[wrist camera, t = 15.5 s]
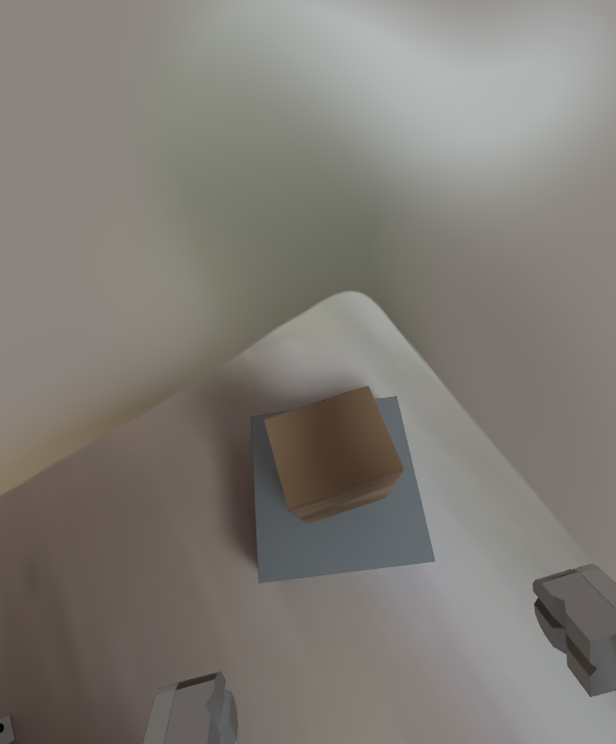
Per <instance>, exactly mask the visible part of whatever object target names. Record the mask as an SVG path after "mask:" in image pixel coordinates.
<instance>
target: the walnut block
mask: <svg viewBox="0 0 616 744" xmlns="http://www.w3.org/2000/svg"><path fill="white" fill-rule="evenodd" d="M264 422H265V425H266V429H267V433H268V437H269V440H270V444H271V448H272V451H273V455H274V459H275V463H276V466H277V470H278V474H279V477H280V481H281V485H282V489H283V492H284V496H285V500H286V503H287V507H288V509H289V510H290V511H291V512H293V513H294V514H295V515H296V516H298V517H299V518H300V519H301V520H303V521H304V522H305V523H306V524H310V523H313V522H316V521H319V520H322V519H325V518H328V517H331V516H334V515H337V514H339V513H342V512H345V511H348V510H351V509H354V508H357V507H360V506H363V505H366V504H369V503H371V502H374V501H377V500H380V499H383V498H386V497H387V496H388V494H389V493H390V491H391V490H392V488H393V486H394V485H395V483H396V481H397V480H398V478H399V477H400V475H401V473H402V472H403V470H404V468H403V466H402V463H401V461H400V459H399V456H398V454H397V452H396V449H395V447H394V445H393V442H392V440H391V438H390V435H389V433H388V431H387V428H386V426H385V424H384V421H383V419H382V417H381V414H380V412H379V410H378V407H377V405H376V403H375V400H374V398H373V396H372V393H371V391H370V389H369V386H366V387H362V388H359V389H356V390H353V391H350V392H347V393H344V394H341V395H338V396H335V397H332V398H329V399H326V400H323V401H320V402H317V403H314V404H311V405H308V406H305V407H302V408H299V409H295V410H292V411H289V412H286V413H283V414H280V415H277V416H274V417H271V418H268V419H265V420H264Z"/></svg>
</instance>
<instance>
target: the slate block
mask: <svg viewBox="0 0 616 744" xmlns="http://www.w3.org/2000/svg"><path fill="white" fill-rule="evenodd" d="M374 400H375V403H376V405H377V407H378V410H379V412H380V414H381V417H382V419H383V421H384V424H385V426H386V428H387V431H388V433H389V435H390V438H391V440H392V442H393V445H394V447H395V449H396V452H397V454H398V456H399V459H400V461H401V463H402V466H403V468H404V470H403V472H402V473H401V475H400V477H399V478H398V480H397V481H396V483H395V485H394V486H393V488H392V490H391V491H390V493H389V494H388V496H387V497H386V498H383V499H380V500H377V501H374V502H371V503H369V504H366V505H363V506H360V507H357V508H354V509H351V510H348V511H345V512H342V513H339V514H337V515H334V516H331V517H328V518H325V519H322V520H319V521H316V522H313V523H310V524H306V523H305V522H304V521H303V520H301V519H300V518H299V517H298V516H296V515H295V514H294V513H293V512H291V511H290V510H289V509H288V507H287V503H286V500H285V496H284V492H283V489H282V485H281V481H280V477H279V474H278V470H277V466H276V463H275V459H274V455H273V451H272V448H271V444H270V440H269V437H268V433H267V429H266V425H265V422H264V420H265V419H268V418H271V417H274V416H277V415H280V414H283V413H286V412H281V413H274V414H267V415H260V416H253V417H251V429H252V451H253V472H254V494H255V515H256V537H257V558H258V580H259V583H263V582H271V581H279V580H287V579H295V578H303V577H312V576H320V575H328V574H336V573H344V572H353V571H361V570H369V569H377V568H385V567H394V566H402V565H410V564H418V563H426V562H435V558H434V554H433V550H432V545H431V541H430V537H429V533H428V528H427V524H426V520H425V515H424V511H423V507H422V503H421V498H420V494H419V490H418V485H417V481H416V477H415V473H414V468H413V464H412V460H411V455H410V451H409V447H408V443H407V438H406V434H405V430H404V425H403V421H402V417H401V413H400V408H399V404H398V400H397V396H395V397H388V398H380V399H374ZM288 412H289V411H288Z"/></svg>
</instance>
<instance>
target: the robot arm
mask: <svg viewBox="0 0 616 744" xmlns="http://www.w3.org/2000/svg"><path fill="white" fill-rule="evenodd" d="M533 591H534V593H535V594H536V595H537V597H538V599H537V600H536V602H535V603H534V607H535V615H536V617H537V620H538V622H539V625H540V627H541V629H542V630H543V632H544V634H545V636H546V637H547V638H548V640H549V641H550V643H551V644H552V645H553V647H555V648H557V649H558V650H560V651H562V652H563V653H565V654H567V666H568V667H569V669H570V670H571V671H572V673H573V674H574V676H575V677H576V678H577V680H578V681H579V682H580V684H581V685H582V686H583V688H584V689H585V690H586V692H587V693H588V695H589V696H590V697H592V696H596V695H600V694H604V693H608V692H612V691H616V583H615V582H614V581H613V580H612V579H611V578H610V577H609V576H608V575H606V573H604V572H603V571H602V570H601V569H600V568H599V567H598V566H596V565H594V564H588V565H585V566H582V567H579V568H575V569H572V570H571V569H569V570H566V571H563V572H560V573H556V574H553V575H550V576H547V577H543V578H540V579H537V580H535V581H534V582H533ZM225 681H226V680H225V678H224V676H223V674H222V672H221V671H220V672H217V673H213V674H209V675H205V676H202V677H198V678H194V679H190V680H187V681H183V682H178V683H175V684H171V685H168V686H165V687H161V688H159V690H158V692H157V694H156V696H155V697H154V701H153V705H152V709H151V713H150V717H149V721H148V725H147V729H146V732H145V736H144V740H143V744H235V742H236V740H237V728H238V721H237V708H236V704H235V700H234V697H233V695H232V693H231V691H229V690H226V689H225Z"/></svg>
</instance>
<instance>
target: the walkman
mask: <svg viewBox="0 0 616 744" xmlns="http://www.w3.org/2000/svg"><path fill="white" fill-rule="evenodd" d="M14 740H15V739H14V734H13V729H12V724H11V719H10V715H8V716H6V717H4V718H2V719H0V744H12V743H11V742H13V741H14Z"/></svg>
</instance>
